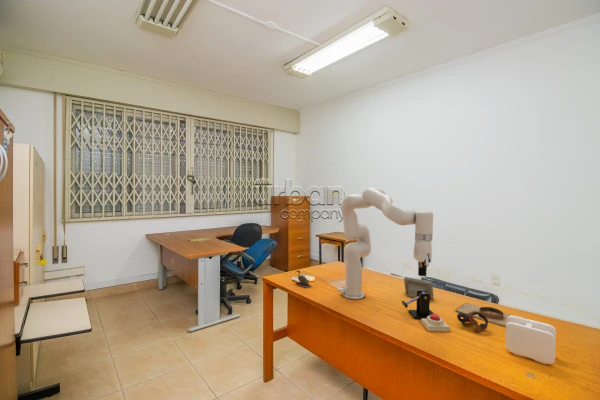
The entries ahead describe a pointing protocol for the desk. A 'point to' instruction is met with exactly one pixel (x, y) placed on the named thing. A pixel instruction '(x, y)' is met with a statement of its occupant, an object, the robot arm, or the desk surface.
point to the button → (435, 317)
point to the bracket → (422, 306)
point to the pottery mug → (473, 320)
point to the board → (485, 313)
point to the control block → (434, 324)
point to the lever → (410, 301)
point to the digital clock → (417, 286)
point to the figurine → (302, 281)
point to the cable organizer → (531, 339)
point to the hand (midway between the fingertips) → (422, 275)
